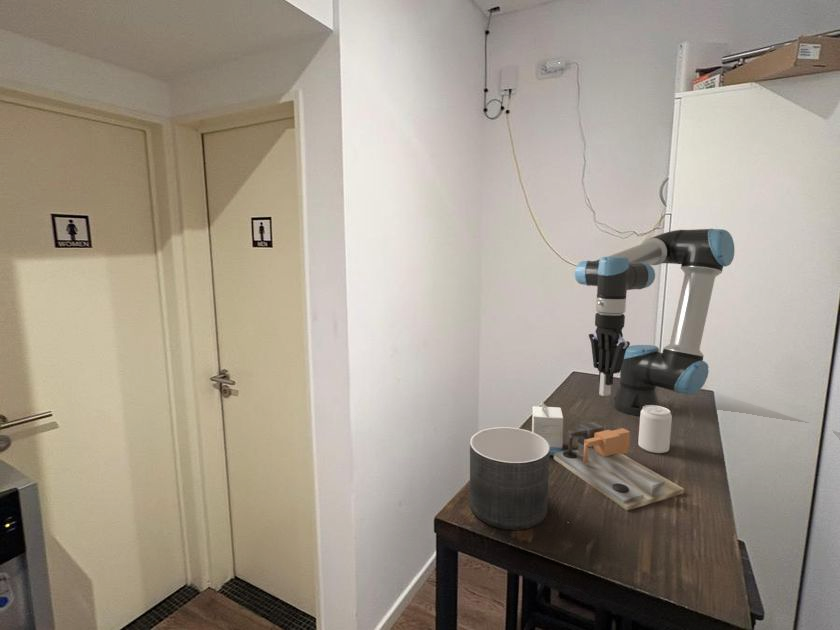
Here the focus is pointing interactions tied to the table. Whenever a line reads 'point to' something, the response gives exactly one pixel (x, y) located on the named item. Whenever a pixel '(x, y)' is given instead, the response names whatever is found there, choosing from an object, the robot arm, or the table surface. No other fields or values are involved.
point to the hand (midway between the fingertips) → (604, 394)
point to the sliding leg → (608, 443)
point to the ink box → (549, 426)
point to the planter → (509, 477)
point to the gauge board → (615, 473)
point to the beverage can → (655, 429)
